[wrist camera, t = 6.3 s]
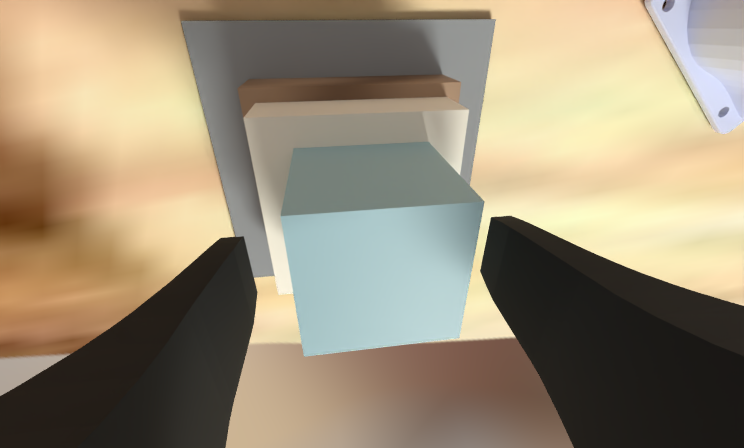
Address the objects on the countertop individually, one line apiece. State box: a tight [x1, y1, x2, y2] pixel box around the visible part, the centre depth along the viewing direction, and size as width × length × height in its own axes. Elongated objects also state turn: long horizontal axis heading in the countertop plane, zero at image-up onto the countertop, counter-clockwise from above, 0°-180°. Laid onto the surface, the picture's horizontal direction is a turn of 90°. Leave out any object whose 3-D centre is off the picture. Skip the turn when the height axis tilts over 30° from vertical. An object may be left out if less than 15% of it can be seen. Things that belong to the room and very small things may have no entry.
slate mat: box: [181, 19, 496, 277], centre depth 16 cm, size 12×12×1 cm
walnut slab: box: [238, 74, 461, 220], centre depth 15 cm, size 8×8×2 cm
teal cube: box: [280, 142, 484, 356], centre depth 10 cm, size 4×4×4 cm
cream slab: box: [244, 97, 469, 295], centre depth 13 cm, size 7×7×2 cm
